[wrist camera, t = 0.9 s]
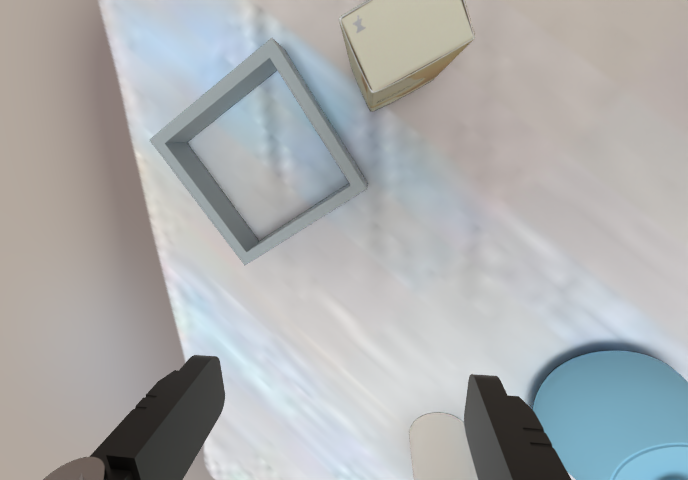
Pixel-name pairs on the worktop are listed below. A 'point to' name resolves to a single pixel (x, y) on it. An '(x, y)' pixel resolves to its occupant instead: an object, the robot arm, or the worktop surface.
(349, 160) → the box
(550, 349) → the worktop surface
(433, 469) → the cylindrical container
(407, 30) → the skincare box
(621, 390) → the sugar bowl
